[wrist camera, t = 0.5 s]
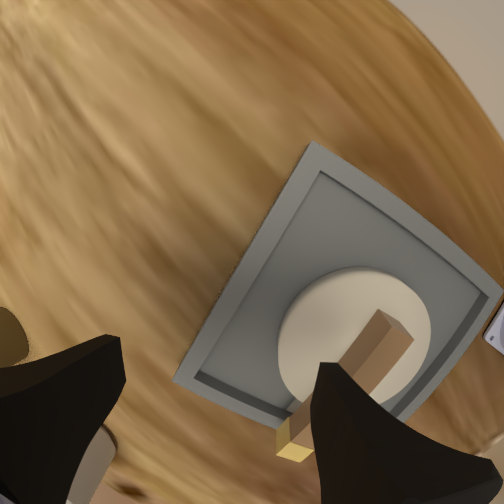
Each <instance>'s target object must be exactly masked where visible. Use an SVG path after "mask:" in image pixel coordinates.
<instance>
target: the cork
mask: <svg viewBox="0 0 504 504" xmlns="http://www.w3.org/2000/svg"><path fill="white" fill-rule="evenodd" d="M28 352H29V345H28V341H27V337H26V335H25V332H24V330H23V328H22V326H21V324H20V323H19V321H18V320H17V318H16V317H15V316H14V315H13V314H12V313H11V312H10V311H9V310H7V309H5V308H3V307H0V368H4V367H10V366H12V365H14V364H16V363H17V362H19V361H21V360H23V359H24V358H26V357H27V355H28Z"/></svg>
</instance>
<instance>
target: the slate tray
mask: <svg viewBox="0 0 504 504" xmlns="http://www.w3.org/2000/svg"><path fill="white" fill-rule="evenodd" d="M350 267H372V268H376V269H380V270H383V271H386V272H388V273H390V274H392V275H394V276H396V277H397V278H398V279H399V280H401V281H402V282H403V283H404V284H406V285H407V286H408V287H409V288H410V289H412V290H413V291H414V292H415V293H416V294H417V295H418V296H419V298H420V299H421V300H422V302H423V303H424V305H425V307H426V310H427V312H428V315H429V319H430V326H431V337H430V344H429V348H428V351H427V354H426V357H425V359H424V361H423V363H422V365H421V367H420V369H419V370H418V372H417V373H416V375H415V376H414V377H413V379H412V380H411V381H410V382H409V383H408V384H407V385H406V386H405V387H404V388H403V389H402V390H401V391H399V392H398V393H397V394H396V395H394V396H393V397H391V398H390V399H388V400H386V401H385V402H383V403H381V404H379V405H381V406H382V407H383V408H384V409H385V410H386V411H388V412H389V413H390V414H391V415H393V416H394V417H395V418H397V419H398V420H400V421H401V422H403V423H404V422H405V421H406V420H407V419H408V418H409V417H410V416H411V415H412V414H413V413H414V412H415V411H416V410H417V409H418V408H419V407H420V406H421V405H422V403H423V402H424V401H425V400H426V399H427V398H428V397H429V396H430V395H431V393H432V392H433V391H434V390H435V389H436V388H437V386H438V385H439V384H440V383H441V382H442V381H443V379H444V378H445V377H446V376H447V374H448V373H449V372H450V371H451V369H452V368H453V367H454V366H455V364H456V363H457V362H458V360H459V359H460V358H461V356H462V355H463V354H464V352H465V351H466V350H467V348H468V347H469V345H470V344H471V343H472V341H473V340H474V338H475V337H476V335H477V334H478V332H479V331H480V329H481V328H482V326H483V325H484V323H485V322H486V320H487V319H488V317H489V315H490V314H491V312H492V311H493V309H494V307H495V306H496V304H497V302H498V300H499V299H500V297H501V295H502V294H503V292H504V290H503V289H502V288H501V287H500V286H499V285H498V284H497V283H496V282H495V281H494V280H493V279H492V278H491V277H490V276H489V275H488V274H487V273H486V272H485V271H484V270H483V269H482V268H481V267H480V266H479V265H478V264H477V263H476V262H475V261H474V260H473V259H472V258H470V257H469V256H468V255H467V254H466V253H465V252H464V251H463V250H462V249H460V248H459V247H458V246H457V245H456V244H455V243H454V242H453V241H451V240H450V239H449V238H448V237H447V236H446V235H444V234H443V233H442V232H441V231H440V230H438V229H437V228H436V227H435V226H434V225H432V224H431V223H430V222H429V221H428V220H426V219H425V218H424V217H423V216H421V215H420V214H419V213H417V212H416V211H415V210H414V209H412V208H411V207H410V206H408V205H407V204H406V203H405V202H403V201H402V200H401V199H399V198H398V197H397V196H395V195H394V194H393V193H391V192H390V191H388V190H387V189H386V188H384V187H383V186H381V185H380V184H379V183H377V182H376V181H374V180H373V179H372V178H370V177H369V176H367V175H366V174H364V173H363V172H361V171H360V170H358V169H357V168H355V167H354V166H352V165H351V164H349V163H348V162H346V161H345V160H343V159H342V158H340V157H339V156H337V155H335V154H334V153H332V152H331V151H329V150H327V149H326V148H324V147H323V146H321V145H319V144H318V143H316V142H314V141H313V140H312V141H311V142H310V143H309V144H308V145H307V147H306V149H305V151H304V152H303V154H302V156H301V157H300V159H299V161H298V162H297V164H296V166H295V167H294V169H293V171H292V173H291V174H290V176H289V178H288V179H287V181H286V183H285V184H284V186H283V188H282V190H281V191H280V193H279V195H278V196H277V198H276V200H275V201H274V203H273V205H272V207H271V208H270V210H269V212H268V213H267V215H266V217H265V218H264V220H263V222H262V224H261V225H260V227H259V229H258V230H257V232H256V234H255V236H254V237H253V239H252V241H251V242H250V244H249V246H248V248H247V249H246V251H245V253H244V254H243V256H242V258H241V260H240V261H239V263H238V265H237V266H236V268H235V270H234V272H233V273H232V275H231V277H230V278H229V280H228V282H227V284H226V285H225V287H224V289H223V290H222V292H221V294H220V296H219V297H218V299H217V301H216V303H215V304H214V306H213V308H212V309H211V311H210V313H209V315H208V316H207V318H206V320H205V322H204V323H203V325H202V327H201V328H200V330H199V332H198V334H197V335H196V337H195V339H194V341H193V342H192V344H191V346H190V347H189V349H188V351H187V353H186V354H185V356H184V358H183V360H182V361H181V363H180V365H179V367H178V369H177V371H176V373H175V375H174V377H173V379H172V381H173V382H175V383H177V384H178V385H180V386H182V387H184V388H186V389H188V390H190V391H192V392H194V393H196V394H198V395H200V396H202V397H204V398H206V399H208V400H210V401H212V402H214V403H216V404H218V405H220V406H222V407H225V408H227V409H229V410H231V411H233V412H236V413H238V414H240V415H242V416H245V417H247V418H249V419H252V420H254V421H257V422H259V423H261V424H264V425H266V426H269V427H271V428H274V429H277V428H278V427H279V426H280V425H281V424H282V423H283V422H284V421H285V420H286V419H287V418H288V417H290V416H291V415H292V414H293V413H294V412H295V411H296V410H297V409H298V408H299V406H300V405H301V404H302V402H301V401H299V400H298V399H297V398H296V397H295V396H293V395H292V393H291V392H290V391H289V390H288V389H287V387H286V385H285V384H284V382H283V380H282V377H281V374H280V370H279V365H278V334H279V329H280V325H281V322H282V319H283V317H284V314H285V312H286V311H287V309H288V307H289V306H290V304H291V303H292V302H293V300H294V299H295V298H296V296H297V295H298V294H299V293H300V292H301V291H302V290H303V289H305V288H306V287H307V286H308V285H310V284H311V283H312V282H314V281H315V280H317V279H319V278H320V277H322V276H324V275H326V274H329V273H331V272H334V271H337V270H340V269H345V268H350Z"/></svg>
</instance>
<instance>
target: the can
mask: <svg viewBox="0 0 504 504" xmlns="http://www.w3.org/2000/svg"><path fill="white" fill-rule="evenodd" d="M114 456H115V446H114V444H113V442H112V440H111V438H110V435H109V434H108V433H107V431H106V430H105V429H104V428H103V427H102V426H101V427H100V428H99V430H98V431H97V433H96V434H95V436H94V438H93V439H92V441H91V442H90V444H89V446H88V448H87V450H86V452H85V454H84V456H83V458H82V461H81V463H80V465H79V467H78V470H77V472H76V475H75V477H74V480H73V483H72V485H71V488H70V492H69V495H68V498H67V501H66V504H89V502H90V501H91V498H92V497H93V495H94V493H95V491H96V489H97V487H98V485H99V484H100V482H101V480H102V478H103V476H104V474H105V472H106V470H107V469H108V467H109V465H110V463H111V461H112V459H113V457H114Z"/></svg>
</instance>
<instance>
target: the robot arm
mask: <svg viewBox="0 0 504 504" xmlns="http://www.w3.org/2000/svg"><path fill="white" fill-rule="evenodd" d="M490 337H491V338H490ZM483 338H484V340H485V341H487V342H488V343H489V344H491V345H492V346H493V347H494V348H496V349H497V350H498V351H500V352H501V353H502V354H503V355H504V303H503V304H502V306H501V308H500V309H499V311H498V313H497V314H496V316H495V318H494V319H493V321H492V322H491V324H490V326H489V327H488V329H487V330H486V332H485V333H484V336H483ZM125 383H126V376H125V370H124V364H123V357H122V350H121V342H120V337H117V336H112V335H108V334H105V335H102V336H99V337H96V338H93V339H91V340H88V341H86V342H83V343H81V344H79V345H76V346H74V347H71V348H69V349H66V350H64V351H61V352H59V353H56V354H53V355H50V356H47V357H45V358H42V359H39V360H36V361H32V362H29V363H25V364H20V365H16V366H11V367H4V368H0V504H66V501H67V498H68V495H69V492H70V488H71V485H72V483H73V480H74V477H75V475H76V472H77V470H78V467H79V465H80V463H81V461H82V458H83V456H84V454H85V452H86V450H87V448H88V446H89V444H90V442H91V441H92V439H93V438H94V436H95V434H96V433H97V431H98V430H99V428H100V427H101V425H102V424H103V422H104V421H105V419H106V418H107V416H108V415H109V413H110V412H111V410H112V408H113V407H114V405H115V404H116V402H117V400H118V398H119V396H120V394H121V392H122V390H123V387H124V385H125ZM310 420H311V432H312V438H313V443H314V449H315V454H316V460H317V466H318V471H319V477H320V485H321V504H489V503H490V502H491V501H492V500H493V498H494V497H495V496H496V495H497V494H498V492H499V491H500V489H501V487H502V484H503V479H502V477H501V476H500V474H499V472H498V471H497V469H496V467H495V465H494V464H493V462H492V461H491V460H490V459H486V458H482V457H478V456H474V455H471V454H467V453H463V452H460V451H458V450H455V449H452V448H450V447H447V446H445V445H442V444H440V443H438V442H436V441H434V440H432V439H430V438H428V437H426V436H424V435H422V434H420V433H418V432H417V431H415V430H413V429H412V428H410V427H409V426H407V425H406V424H404V423H403V422H401V421H400V420H398V419H397V418H395V417H394V416H393V415H391V414H390V413H389V412H388V411H386V410H385V409H384V408H383V407H382V406H381V405H379V404H378V403H377V402H376V401H375V400H374V399H373V398H371V397H370V396H369V395H368V394H367V393H366V392H365V391H364V390H363V389H362V388H361V387H360V386H359V385H358V384H357V383H356V382H355V381H354V380H353V379H352V377H351V376H350V375H349V374H348V373H347V372H346V371H345V370H344V369H343V368H342V367H341V366H340V365H339V364H338V363H337V362H320V365H319V369H318V374H317V378H316V383H315V387H314V391H313V395H312V399H311V403H310Z"/></svg>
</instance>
